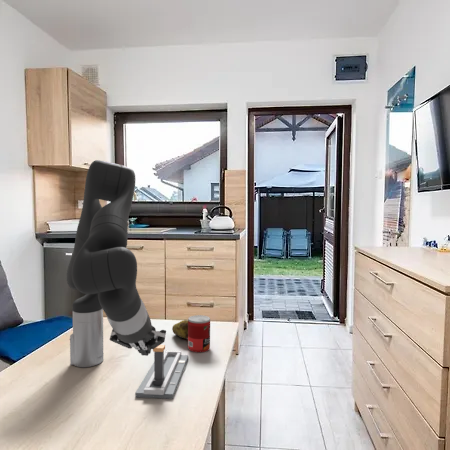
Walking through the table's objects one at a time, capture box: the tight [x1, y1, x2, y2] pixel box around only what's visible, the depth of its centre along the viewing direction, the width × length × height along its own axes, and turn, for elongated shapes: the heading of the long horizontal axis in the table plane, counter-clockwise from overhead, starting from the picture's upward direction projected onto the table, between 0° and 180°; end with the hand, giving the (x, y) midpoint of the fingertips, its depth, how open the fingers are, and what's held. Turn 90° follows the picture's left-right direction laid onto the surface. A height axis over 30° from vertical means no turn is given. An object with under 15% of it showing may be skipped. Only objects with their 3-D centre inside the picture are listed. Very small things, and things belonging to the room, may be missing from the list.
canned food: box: [187, 314, 211, 353], centre depth 126 cm, size 8×8×11 cm
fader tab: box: [152, 344, 166, 385], centre depth 98 cm, size 3×3×10 cm
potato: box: [171, 319, 188, 340], centre depth 135 cm, size 8×13×8 cm, turn 15°
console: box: [134, 349, 189, 399], centre depth 105 cm, size 10×26×2 cm, turn 177°
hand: (145, 351), depth 85 cm, fingers closed
